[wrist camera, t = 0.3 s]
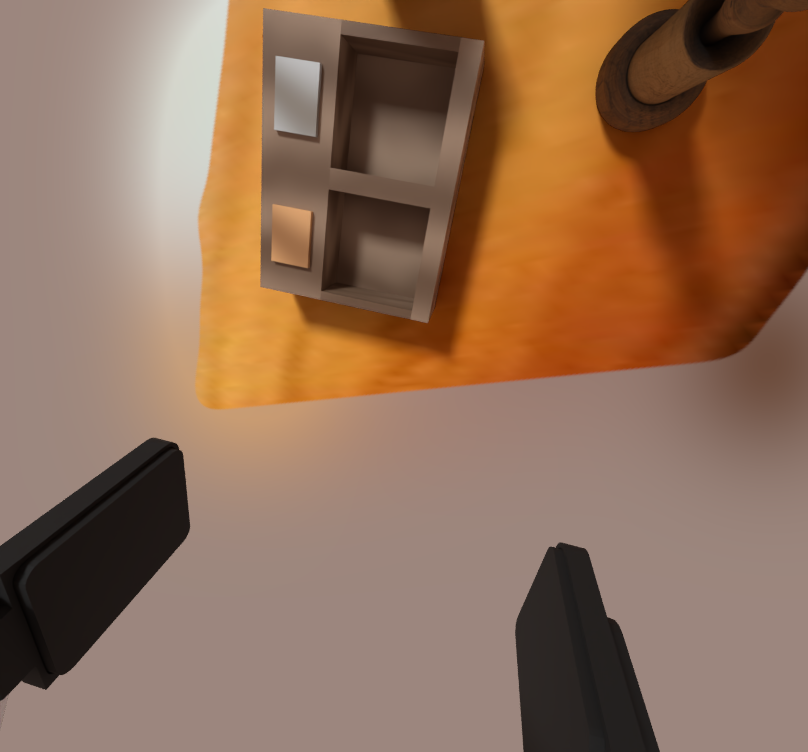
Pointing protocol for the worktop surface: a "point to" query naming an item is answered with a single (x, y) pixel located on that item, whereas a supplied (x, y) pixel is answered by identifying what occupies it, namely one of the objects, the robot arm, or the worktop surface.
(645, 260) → the worktop surface
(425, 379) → the worktop surface
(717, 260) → the worktop surface
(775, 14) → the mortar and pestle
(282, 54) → the socket block
